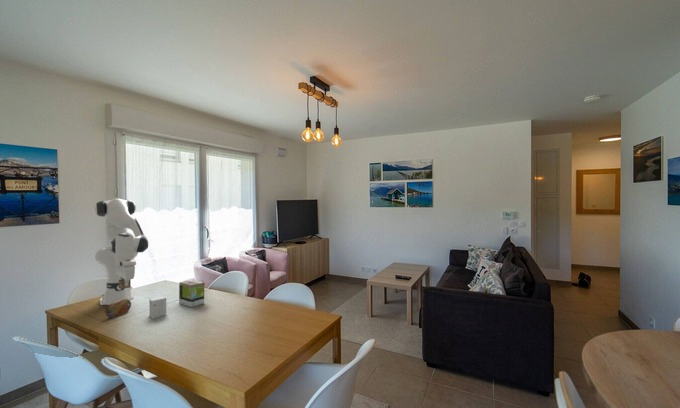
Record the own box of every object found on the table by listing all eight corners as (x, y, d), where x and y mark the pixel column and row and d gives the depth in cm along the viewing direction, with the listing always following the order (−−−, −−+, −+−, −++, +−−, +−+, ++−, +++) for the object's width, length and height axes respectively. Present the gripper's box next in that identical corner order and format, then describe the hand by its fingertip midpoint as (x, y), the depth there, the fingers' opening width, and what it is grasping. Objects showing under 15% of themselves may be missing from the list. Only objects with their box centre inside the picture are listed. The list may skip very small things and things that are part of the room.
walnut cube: (118, 287, 166) (118, 279, 166) (128, 286, 169) (128, 278, 169) (121, 289, 163) (121, 281, 163) (130, 287, 167) (130, 279, 167)
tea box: (204, 303, 198) (205, 281, 198) (190, 307, 190) (190, 285, 190) (192, 299, 206) (192, 278, 206) (178, 303, 198) (178, 282, 198)
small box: (164, 312, 181) (164, 295, 181) (166, 314, 177) (166, 297, 177) (149, 315, 175) (149, 298, 175) (151, 318, 171) (151, 300, 171)
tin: (108, 319, 169) (108, 305, 169) (103, 319, 170) (103, 305, 170) (131, 310, 184) (131, 297, 184) (127, 310, 185) (127, 297, 185)
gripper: (112, 259, 170) (112, 282, 170) (123, 264, 158) (123, 289, 158) (125, 258, 175) (125, 280, 175) (137, 262, 163) (136, 286, 163)
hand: (124, 284), depth 166 cm, fingers closed on walnut cube, 4 cm apart
